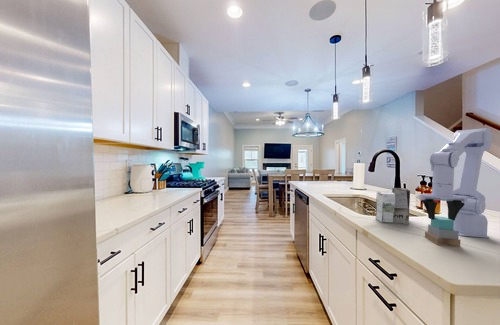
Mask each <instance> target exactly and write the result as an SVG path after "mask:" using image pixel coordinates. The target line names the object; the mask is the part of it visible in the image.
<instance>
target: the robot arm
mask: <svg viewBox="0 0 500 325" xmlns="http://www.w3.org/2000/svg"><path fill="white" fill-rule="evenodd" d="M492 140H493V134H492V130H491V128H489V127H484V128H473V129H461V130H459V129H458V130H456V131H455V132H454V134H453V141H449V142H447V144H445V146H443V147H442V148H441V149H440V150H439V151H435V152H433V153H431V155H430V157H429V164H430V169H431V172H432V188H431V193H418V196H417V197H418V198H417V199H418V200H421V202H422V204H423V205H424V207H425V209H426V213H427V217H428V219H430V220H431V219H432V220H434V219H435V216H436V208H437V205H438V202H435V201H442V202H443V201H444V202H445V201H446V205H447V218H449V219H451V220H454V228H453V229H455V230H457V231H459V236H461V237H474V238H475V237H476V238H490V237H489V236H488V219H487V217H486V215H485V214H483V213H484V212H485V210H486V197H485V195H484V194H482V193H481V192H480V191H478V190H477V188H478V184H479V183H478V182H479V178H480V177H479V176H480V170H481V165H482V160H483V155H484V152H487V151H489V150H491V146H492ZM464 153H465V157H464V162H463V168H462V173H461V178H460V183H459V188H456V189H454V184H455V183H454V181H455V179H454V178H455V168H456V167H457V166H458V162H459V160H460V157H461V156H462V154H464Z"/></svg>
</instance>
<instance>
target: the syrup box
mask: <svg viewBox="0 0 500 325" xmlns="http://www.w3.org/2000/svg"><path fill="white" fill-rule="evenodd" d="M375 202H376V203H375V204H376V205H375V206H376V207H375V220H376V221H379V222H380V223H386V224H387V223H388V224H390V223H391V224H395V222H394V208H395V194H394V193H392V191H376V201H375Z"/></svg>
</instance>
